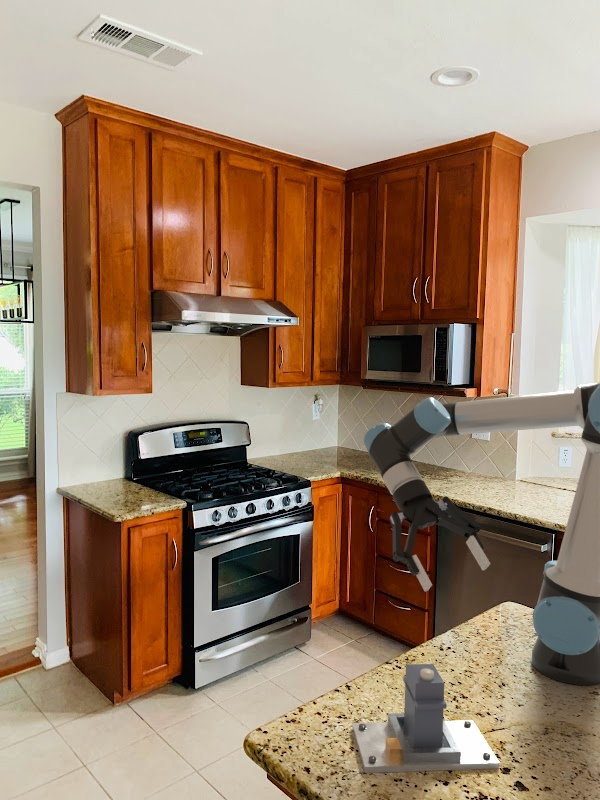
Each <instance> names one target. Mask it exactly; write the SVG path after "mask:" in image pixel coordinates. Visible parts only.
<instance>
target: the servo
mask: <svg viewBox="0 0 600 800" xmlns="http://www.w3.org/2000/svg"><path fill="white" fill-rule="evenodd" d="M402 676H403V677H402V678H403V679H402V680H403V683H404V710H403V711H404V712H403V713H404V733H405V735H406V738H407V740H408V743H409V745H410V747H411V749H418V748H442V736H443V720H444V710H447V705H448V704H447V702H446V700H445V681H444V679H443V677H442V676H441V675H440V673H439V671H438V670H437V668H436V665H435V664H434V663H416V664H415V663H412V664H411V663H409V664H408V663H407V664H405V675H402Z"/></svg>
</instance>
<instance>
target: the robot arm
mask: <svg viewBox="0 0 600 800" xmlns="http://www.w3.org/2000/svg"><path fill="white" fill-rule="evenodd" d="M565 427H566V428H567V427H579V428H580V429H582V433H581V437H580V440H581V441H582V443H583V445H584V446H585V448H586V452H585V455H584V460H583V462H582V467H581V470H580V474H579V478H578V482H577V485H576V489H575V494H574V497H573V501H572V504H571V508H570V512H569V516H568V520H567V523H566V527H565V531H564V535H563V537H562V541H561V545H560V549H559V553H558V557H557V560H549V561H547V562H546V563H545V564H544V569H543V571H542V573H543V580H542V583H541V587H540V592H539V595H538V598H537V599H538V600H537V603H536V605H535V607H534V609H533V611H532V623H533V627H534V632H535V634H536V635H537V638H536V641H535V643H534V645H533V648H532V651H531V665H532V666H533V667H534V668H535V670H537V671H538V672H539V673H540V674H542V675H544V676H546V677H548V678H550V679H552V680H555V681H558V682H561V683H565V684H570V685H577V686H593V685H600V381H598V382H591V383H586V384H585V383H584V384H579V385H578V386H577V387H576V388H575V389H573V390H572V389H571V390H565V391H563V390H562V391H554V392H553V391H552V392H545V393H537V394H535V393H533V394H527V395H516V396H508V397H507V396H505V397H497V398H496V397H495V398H487V399H479V400H478V399H477V400H469V401H459V402H451V403H450V402H449V403H442V402H440V401H439V400H438V399H435V398H434V397H430V396H429V397H427V398H425V399H424V400H422V401H421V402H419V403H417V404H416V405H415V407H414V408H412V409H411V410H409V412H408V413H406V414H405V415H404V416H402V417H401V419H399V420H398V421H397V422H396V423H395V424H393V425H391V424H389V423H385V422H383V423H379V424H376V426H374V427H373V426H372V427H371V428H370V429H368V430H367V431H366V432H365V434H364V436H363V443H364V446H365V448H366V450H367V453H368V456H369V457H370V459H371V460H372V462H373V464H374V466H375V468H376V469H377V471H378V472H379V474H380V476H381V479H382V480H383V482H384V484H385V486H386V488H387V490H388V491H389V493H390V495H392V499H393V502H395V504H396V506H397V508H398V510H399V511H400V512H397V511H393V512H391V515H390V517H389V523H390V525H391V527H392V530H391V531H392V559H393V561H394V562H395V563H397V562H399V561H401V563H402V564H404V565H405V564H406V567H407V568H408V570H409V573H410V575H412V576H413V577H414V576H416V579H418V581H419V584H420V585H421V587H422V589H423V591H424V592H427V591H429V590H430V589H431V587H432V586H433V584H432V582H431V580H430V578H429V575H428V574H427V572H426V571H425V568H424V567H423V564H422V563H421V561H420V559H419V557H418V555H417V554H414V555H413V550H414V544H415V541H416V537H417V532H418V529H420V530H422V529H423V530H424V529H425V528H427V527H433V526H434V525H437V526H442V527H443V528H445V529H447V530H449V531H451V532H453V533H455V534H457V535H458V536H461V537H462V538H465V539H467V540H466V541H465V544H466V545H467V547H468V548H469V550H470V552H471V553H472V555H473V557H474V560H475V561H476V562H477V564H478V566H479V567H480V570H482V571H486V570H487V568H488V567H490V565H491V564H492V563H491V562H490V561H489V558H488V557H487V556H486V553H485V551H484V550H485V546H484V544H483V543H482V541H481V539H480V538H479V536H478V534H479V533H480V532H481V531H482V529H483V526H482V525H481V524H480V523H479V522H477V521H476V520H475V519H473V518H472V517H471V516H469V515H468V514H467V513H466V512H464V511H463V510H462V509H460V508H459V507H458V506H456V505H455V504H454V503H453V502H452V500H451V498H450V497H448V496H447V495H444V496H443V498H442V499H440V500H438V501H436V500H435V499H434V498H433V495H432V493H431V491H430V489H429V487H428V485H427V484H426V482H425V481H424V480H423V477H422V475H421V474H420V472H419V470H418V468H417V467H416V465H415V464H414V461H413V460H412V458H411V456H412V454H414V453H416V452H417V451H418V450H419V449H421V448H422V447H423V446H424V445H426V444H427V443H429V442H430V441H431V440H435V439H436V438H440V437H450V436H460V435H473V434H488V433H498V432H499V433H500V432H501V433H502V432H512V431H513V432H514V431H526V430H527V431H528V430H539V429H541V430H542V429H552V428H553V429H554V428H565ZM403 520H404V522H407V523H408V524H409V527H408V531H407V532H408V533H407V537H406V542H405V546H404V549H403V542H402V541H403V539H402V538H403V537H402V522H403Z"/></svg>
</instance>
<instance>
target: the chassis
mask: <svg viewBox="0 0 600 800" xmlns="http://www.w3.org/2000/svg"><path fill="white" fill-rule="evenodd" d="M351 728H352V733H353V736H354V740H355V742H356V743H355V744H356V747H357V751H358V754H359V757H360V758H359V759H360V760H361V764H362V765H361V766H362V767H363V768H362V769H363V771H364V774H371V773H372V774H373V773H379V774H380V773H403V772H404V773H405V772H432V771H433V772H435V771H438V772H439V771H466V770H471V771H472V770H494V769H495V770H496V769H497V770H498V769H500V761H499V760H498V758H497V757H496V755H495V754H494V752H493V751H492V748H491V747H490V745H489V743H488V742H487V741H486V739H485V738H484V736H483V734H482V732H481V731H480V729H479V728H478V726H477V725H476V723H475V721H474V720H473V719H471V720H470V719H466V720H465V719H464V720H462V719H461V720H460V719H459V720H445V719H443V736H442V748H418V749H411V747H410V745H409V743H408V740H407V738H406V735H405V733H404V712H402V713H401V712H399V713H397V712H396V713H393V712H392V713H387V722H361V723H360V722H356V723H354V722H353V723H352V727H351Z"/></svg>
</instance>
